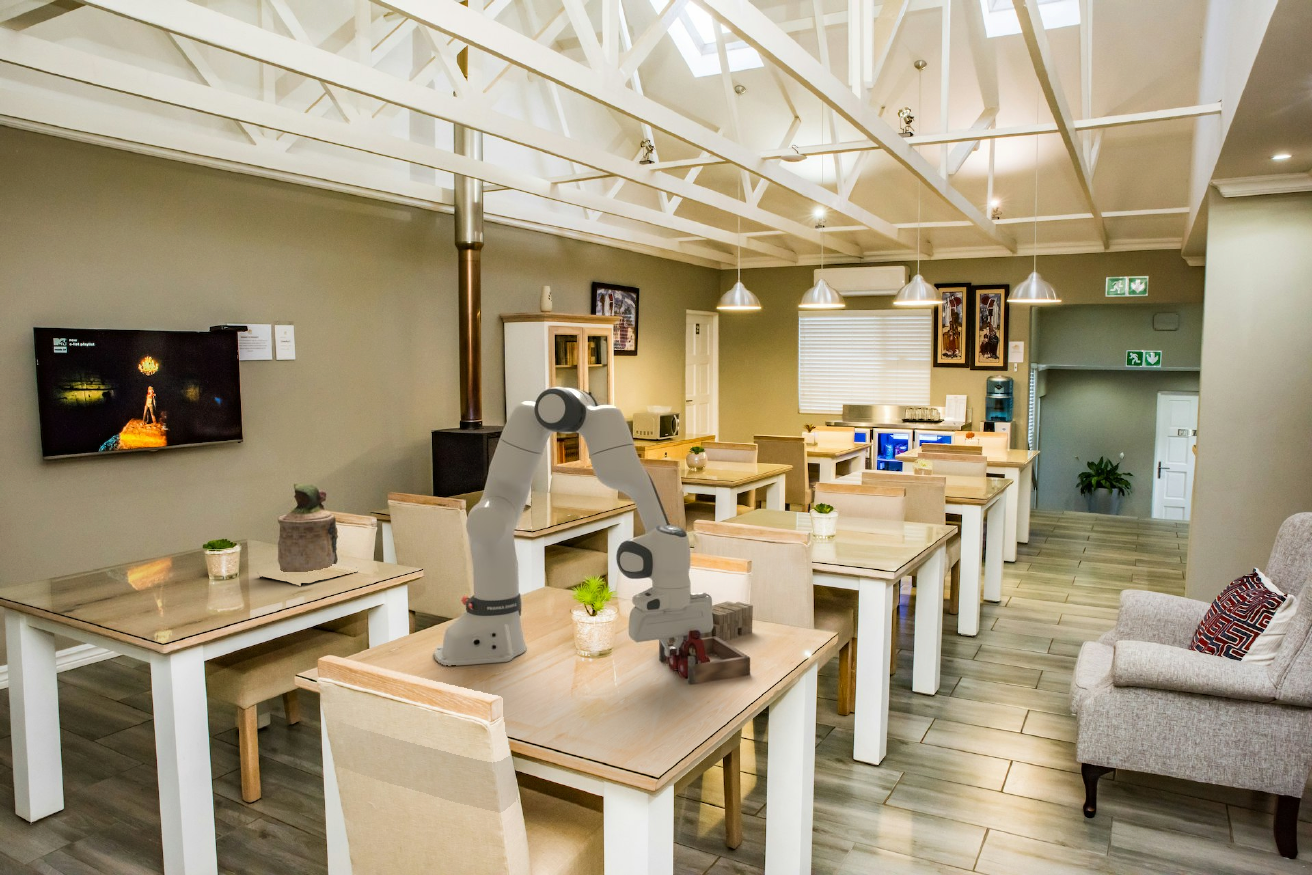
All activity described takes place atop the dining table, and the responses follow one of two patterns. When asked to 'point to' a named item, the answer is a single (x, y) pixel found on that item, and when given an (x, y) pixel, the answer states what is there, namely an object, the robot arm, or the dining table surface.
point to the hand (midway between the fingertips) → (671, 655)
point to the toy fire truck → (688, 653)
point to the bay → (714, 662)
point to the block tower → (729, 621)
